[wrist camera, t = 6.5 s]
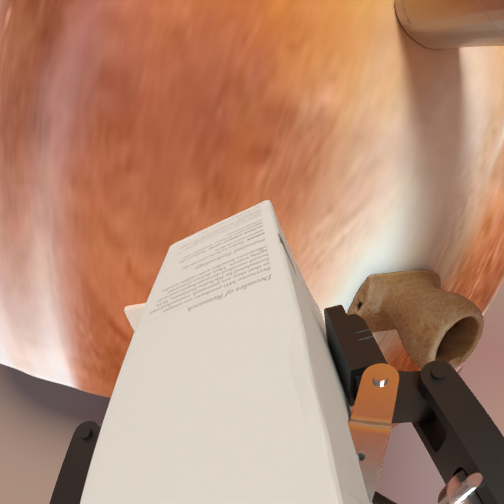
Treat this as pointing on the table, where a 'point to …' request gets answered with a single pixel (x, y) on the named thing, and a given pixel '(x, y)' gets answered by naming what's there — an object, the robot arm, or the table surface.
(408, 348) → the tan flared vase
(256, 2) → the table surface
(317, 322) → the skincare box
